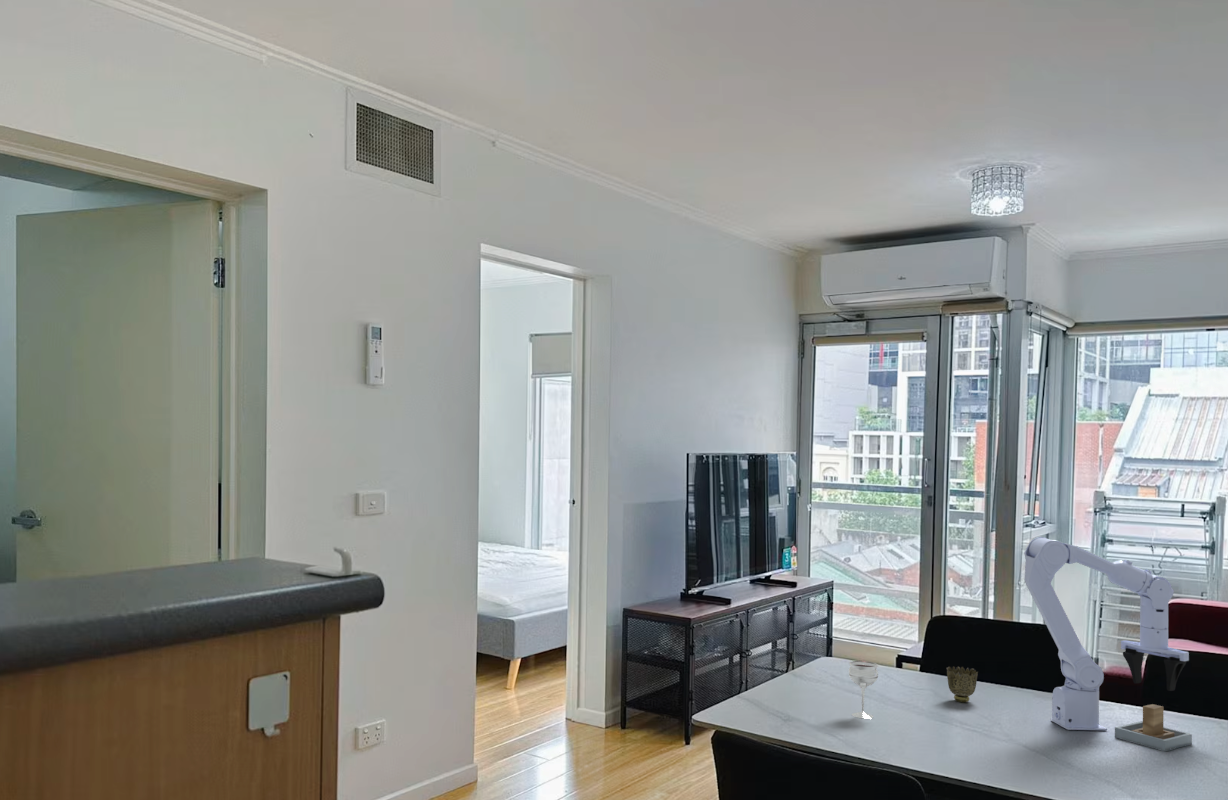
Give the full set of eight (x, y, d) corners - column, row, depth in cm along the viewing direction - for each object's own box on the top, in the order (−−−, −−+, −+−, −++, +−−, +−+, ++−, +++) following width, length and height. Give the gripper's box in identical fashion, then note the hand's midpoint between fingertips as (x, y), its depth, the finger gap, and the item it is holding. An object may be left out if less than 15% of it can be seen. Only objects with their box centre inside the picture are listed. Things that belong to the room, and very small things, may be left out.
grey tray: (1191, 744, 209) (1191, 734, 209) (1165, 751, 203) (1165, 740, 203) (1141, 730, 219) (1141, 721, 219) (1114, 737, 213) (1114, 727, 213)
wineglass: (845, 717, 222) (846, 665, 223) (849, 710, 228) (850, 659, 229) (875, 721, 219) (876, 668, 220) (879, 714, 226) (880, 662, 226)
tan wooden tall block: (1163, 738, 211) (1163, 706, 211) (1153, 741, 209) (1153, 708, 209) (1152, 735, 213) (1152, 704, 213) (1142, 738, 211) (1142, 706, 211)
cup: (979, 706, 236) (980, 673, 236) (948, 703, 237) (949, 671, 238) (974, 698, 243) (974, 667, 243) (944, 696, 244) (944, 664, 245)
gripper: (1195, 631, 217) (1195, 691, 216) (1132, 620, 229) (1132, 677, 228) (1179, 633, 213) (1179, 695, 212) (1116, 622, 225) (1115, 680, 225)
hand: (1153, 686), depth 220 cm, fingers open, 7 cm apart
